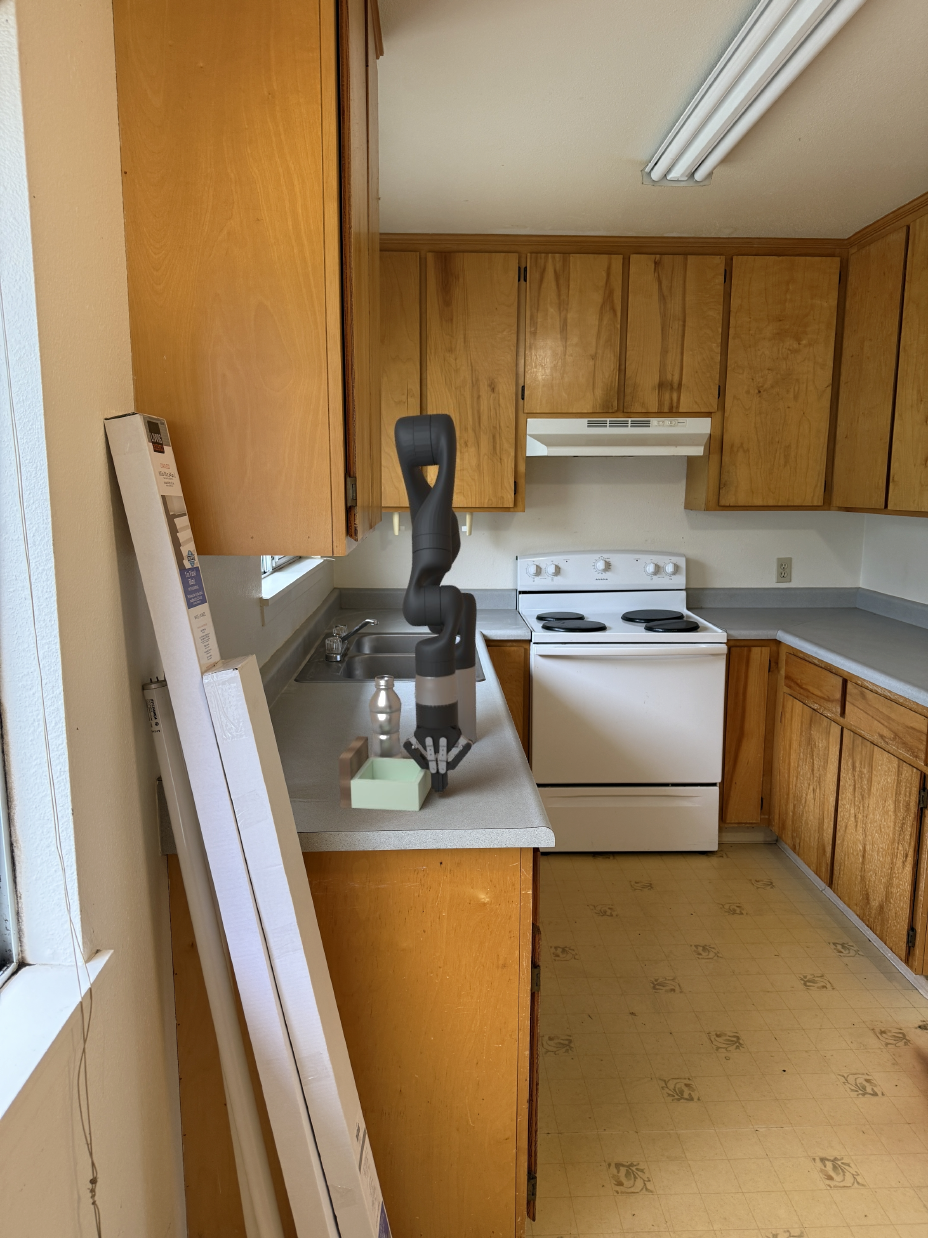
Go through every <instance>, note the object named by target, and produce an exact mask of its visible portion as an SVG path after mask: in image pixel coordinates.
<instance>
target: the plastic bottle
mask: <svg viewBox="0 0 928 1238" xmlns="http://www.w3.org/2000/svg"><path fill="white" fill-rule="evenodd" d="M394 681H395V679H394V676H393V675H385V674H384V675H377V676H375V679H374V688H375V689H376V690H375V691H374V693H373V694H372V696H371V697H370V699H369V703H368V709H369V716H370V721H371V731H372V746H371V747H372V750H371V751H372V753H371V755H370V758H394V759H404V758H403V753H402V748H401V739H400V738H401V737H400V727H401V726H400V724H401V723H400V722H401V721H400V720H401V715H402V714H401V713H402V701H401V698H400V697H399V694H398V693H397V692H396V691H395V690H394V687H395V682H394Z"/></svg>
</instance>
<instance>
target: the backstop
mask: <svg viewBox="0 0 928 1238" xmlns="http://www.w3.org/2000/svg"><path fill="white" fill-rule="evenodd" d="M369 755H370V754H369V736H361V735H360V736H359V735H358V736H356V737H355V739H354V740H353V741H351V743H350V744H349V746H348V747H346V749H345V750H344V751H343V752H342V754H341V755H340V756H339V757H338V769H339V772H338V773H339V775H338V776H339V794H340V796H339V797H340V808H344V809H347V808H348V809H353V808H352V801H351V780H352V778H353V777H354V776H355V775H356V773H357V772H358V771H359V769H360V768H361V767H362V765H363V764H364V763H365V762H366V760H367V759H368V758H370V756H369Z"/></svg>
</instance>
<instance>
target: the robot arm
mask: <svg viewBox="0 0 928 1238" xmlns="http://www.w3.org/2000/svg"><path fill="white" fill-rule="evenodd" d="M454 422H455V421H454V420H453V418H452V416H451V415H450V414H448V413H429V414H427V413H426V414H416V415H407V416H401V417H399V418H398V419H397V420H396V422H395V425H394V430H393V431H394V434H393V436H394V437H393V438H394V443H395V444H394V445H395V448H396V449H395V450H396V454H397V460H398V463H399V468H400V470H401V475H402V479H403V482H404V483H403V484H404V487H405V491H406V495H407V500H408V501H407V502H408V507H409V515H410V521H411V569H410V575H409V580H408V584H407V588H406V590H405V594H404V598H403V603H402V614H403V615H402V616H403V617H404V620H405V621H406V622H407V624H408V625H410V626H412V627H427V629H428V630H429V632H430V633H432V634H434V635H435V636H432V637H428V638H423V639H421V640H419V641H417V643H416V644H415V646H414V661H415V662H414V664H415V680H414V681H415V682H414V701H415V705H414V706H415V726H416V727H415V729H414V731H413V735H412V736H411V737H410V738H409V737H408V738H406V740H405V741H404V742H403V744H402V747H403V749H404V750H405V751H406V752H407V754H408V755H409V756H410V757H411V759H413V760H414V761H415V762H416V763H417V764H418V766H419V767H420V768H421V769H423V770H424V769H427V770H429V771H430V773H431V787H430V788H431V789H432V790H434V793H444V791H445V790H447V787H448V784H449V780H448V779H449V778H448V777H449V776H448V775H449V773H448V772H449V771H454V770H455V769H456V768H457V767H458V766H459V764H460V763H461V762H462V761H463V760H464V758H465V757H466V756H467V754H468V753H469V752H470V751H471V749H472V747H473V746H474V743H476V741H477V685H476V684H477V683H476V682H477V676H476V675H477V673H476V672H477V671H476V670H477V669H476V667H477V666H476V664H477V663H476V653H477V651H476V649H477V647H476V635H477V633H476V632H477V617H478V615H477V613H478V610H477V601H476V597H475V595H474V594H472V593H471V592H462V591H461V589H459V587H457V586H456V585H453V584H441V583H442V582H443V579H444V577H445V576H446V574H447V573H449V572H450V571H451V569H452V566H453V564H454V562H455V561H456V559H457V557H458V555H459V554H460V553H459V552H460V551H461V546H462V543H461V535H460V527H459V520H458V517H457V515H456V513H455V511H454V509H453V504H454V503H453V502H454V492H455V482H456V469H457V466H456V465H457V453H458V450H457V449H458V445H457V443H458V442H457V441H458V440H457V439H458V438H457V432H456V426H455V423H454ZM434 466H438V469H437V474H436V478H435V481H434V484H433V485H430V483H429V481H428V480H427V479H426V476H425V475H424V473H423V471H422V469H421V468H422V467H434ZM457 636H459V637H460V638H459V640H458V641H457ZM419 745H420V747H421V748H422V749H423V751H424V752H426V754H427V756H426V755H425V754H424V753H423V752H422V750H421V749H420V748H419ZM454 747H457V748H458V751H457V753H455V756H453V758H452V759H451V760H449V755H450V754H449V753H450V752H452V750H453V749H454Z"/></svg>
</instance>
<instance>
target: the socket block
mask: <svg viewBox="0 0 928 1238" xmlns="http://www.w3.org/2000/svg"><path fill="white" fill-rule="evenodd" d="M431 788H432V787H431V773H430V771H429V770H427V769H424V770H423V769H421V768H420V767H419V766H418V764H417V763H416V762H415V761H414V760H413V758H403V759H394V758H371V757H369V758H368V759H367V760H366V762H365V763H364V764H363V765H362V767H361V768H360V769H359V771H358V772H357V773H356V775H355V776H354V777H353V778H352V780H351V801H352V808H351V809H353V808H354V809H368V810H369V809H370V810H387V811H389V810H392V811H408V812H409V811H411V812H419V811H420V810H421V807H422V805H423V803H424V801H425V799H426V797H427V795H428V793H429V792H430V789H431Z"/></svg>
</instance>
